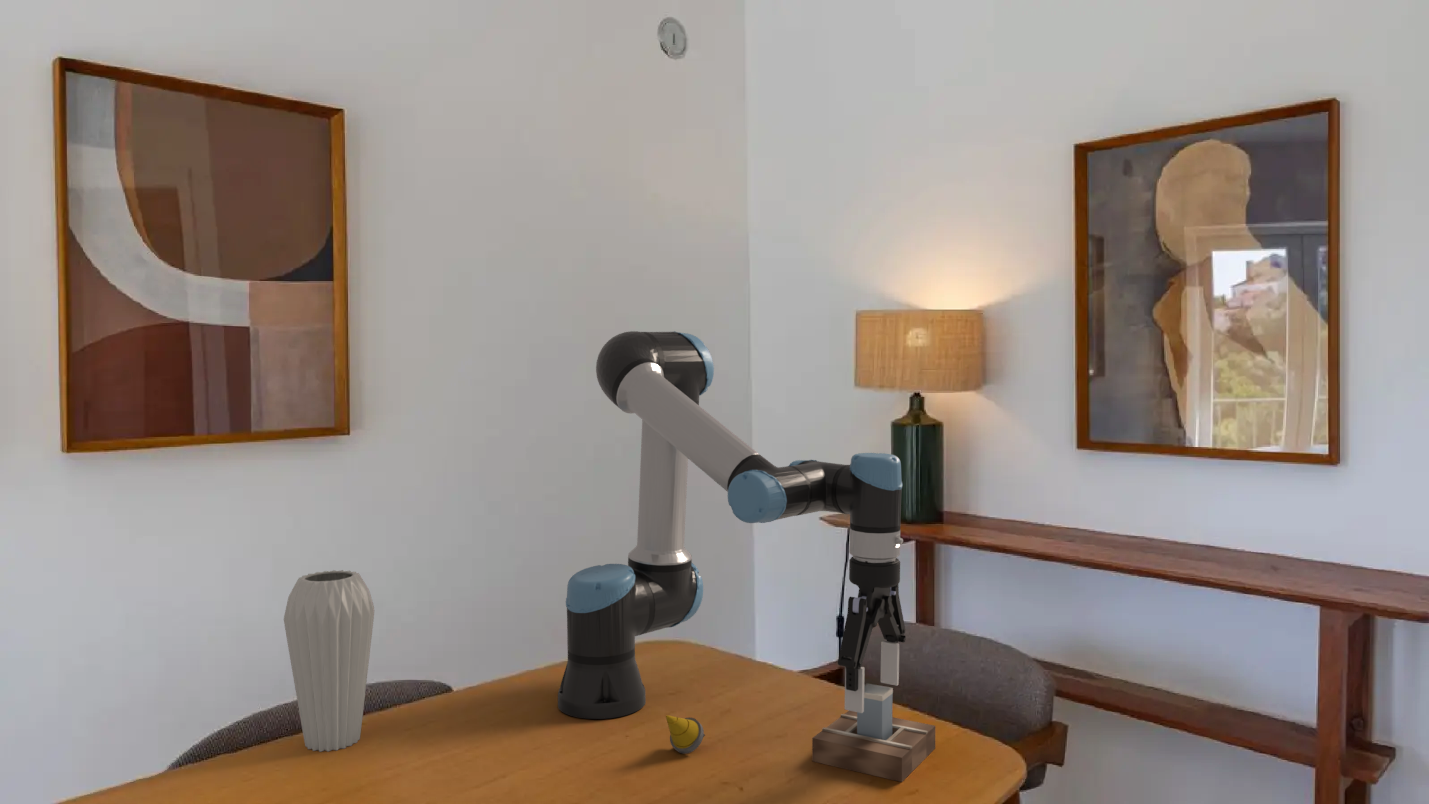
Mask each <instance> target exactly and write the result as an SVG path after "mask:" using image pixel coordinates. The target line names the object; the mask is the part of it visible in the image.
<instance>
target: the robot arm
mask: <svg viewBox="0 0 1429 804" xmlns="http://www.w3.org/2000/svg"><path fill="white" fill-rule="evenodd" d="M714 366H715V365H714V360H713V356H712V354H711V352H710V350H709V348H708V347H707V346H706V345H705V343H704V341H702V339H700V338H699V337H698V336H695V335H694V334H691V333H688V332H687V333H686V332H685V333H684V332H678V331H675V330H674V331H635V330H633V331H632V330H631V331H624V332H620V333H618V334H617V335H615V336H613V337H611V338H610V339H609V340H608V341H607V342H605V344H603V346H602V347H601V349H600V351H599V353H598V356H597V359H596V365H595V372H596V378H597V379H596V380H597V382H598V385H599V387H600V389H601V390H602V392H603V394H604V395H605V396H606V397H607V398H608V399H609V400H610V401H611V403H613V404H614V405H615V406H616V407H617V408H619V409H620V410H621V411H622V412H624V413H626V414H636V416H638V417H639V418H640V420H641V438H640V439H641V441H640V442H641V443H640V444H641V445H640V467H639V488H638V491H639V493H638V514H637V515H638V516H637V536H636V537H637V538H636V540H637V541H636V545H635V547H634V548H633V549H632V550H630V552H628V557H627V565H626V564H622V563H606V564H603V565H600V564H597V565H593V566H589V567H586V568H583V569H581V570H579V571H577V572H575V573H574V574H572V576H571V577H570V578H569V580H568V582H567V585H566V598H565V606H566V622H567V623H566V628H567V629H566V631H567V634H566V635H567V637H566V639H567V641H566V642H567V644H566V645H567V662H566V666H565V670H564V671H563V675H562V679H561V684H560V686H559V689H558V692H557V707H558V710H560V711H561V712H562V713H563V714H564V715H568V716H570V717H573V718H580V719H585V720H586V719H587V720H597V719H598V720H603V719H604V720H605V719H613V718H619V717H620V718H621V717H625V716H628V715H631V714H633V713H636V712H639V710H641V709H642V708H644V706H645V705H646V687H645V684H644V683H643V681H642V676H641V673H640V671H639V666H638V663H637V660H636V640H635V639H636V637H637V636H642V635H645V634H648V633H649V634H650V633H652V632H655V631H659V630H663V629H667V628H674V627H676V626H678V625H680V624H681V623H684V622H686V621H688V620H690V619H691V618H692V617H694V616H695V615H696V614H697V612H698V610H699V608H700V606H701V604H702V601H703V597H704V582H703V578H702V577H703V576H701V575H699V573H700V570H699V569H698V567H697V566H696V565H695V564H694V563H693V562H692V561H693V559H692V554H691V553H690V552H689V550H687V549H686V547H685V537H686V535H685V533H686V532H685V531H686V513H687V512H686V511H687V510H686V509H687V489H688V486H687V485H688V467H689V466H688V464H689V461H691V462H692V463H693V464H694V465H695V466H697V468H699V469H700V470H701V472H704V474H706V475H707V476H708V477H709V478H711V479H712V480H713V482H715V483H716V484H718V486H720V487H721V488H722V489H723V490H724V491H726V492H727V502H728V506H730V508H731V510H732V513H733V515H734V516H735V518H737V519H738V520H739V521H741V522H743V523H746V524H757V523H758V524H759V523H760V524H765V523H772V522H774V521H778V520H782V519H786V518H791V517H795V516H796V517H798V516H802V515H807V514H812V513H817V512H829V513H830V512H831V513H838V514H843V515H844V514H845V515H849V541H848V543H849V545H848V552H849V554H850V555H851V557H850V558H849V564H848V565H849V568H848V569H849V570H848V579H849V581H850V583H851V584H853V585H856V586H857V588H858V593H857V597H855V596H848V601H847V614H846V619H845V623H844V629H843V634H842V639H841V644H840V648H839V654H838V659H837V665H838V666H840V667H844V710H847V711H854V712H859V713H863V712H864V686H865V671H866V670H865V667H864V666H862V665H863V663H864V660H865V659H864V658H865V655H866V652H867V649H868V645H869V641H870V638H871V634H872V632H873V630H874V629H875V628H876V627H877V626H878V627H879V629H880V632H881V634H882V636H883V639H884V640H881V642H880V643H881V644H880V650H881V651H880V683H881V684H885V685H893V686H896V687H897V686H898V685H900V684H899V683H900V682H899V681H900V680H899V679H900V678H899V677H900V674H899V673H900V643H906V639H907V636H906V635H905V634H906V626H905V621H904V615H903V610H902V605H901V599H900V594H899V592H900V591H899V587H900V586H899V585H900V582H901V561H900V560H899V558H898V557H899V556H901V545H902V544H903V543H904V539H903V537H901V513H902V512H901V511H902V510H901V509H902V506H901V505H902V489H903V485H904V484H903V481H902V463H901V460H900V458H899V457H898V456H897V455H895V454H892V453H885V452H884V453H883V452H880V453H878V452H861V453H855V454H853V455H852V457H851V458H850V464H841V463H833V462H826V461H818V460H816V459H809V460H805V459H803V460H802V459H801V460H800V459H799V460H798V459H797V460H793V461H792V462H791V463H790V464H789V465H787V466H780V467H778V466H776V465H774V464H773V462H772V463H771V462H770V461H769V460H767V459H766V458H765V457H763V455H761V454H759V453H758V451H756V450H755V449H753V448H752V447H751V446H750V445H749V444H747V443H746V442H744V440H742V439H741V438H740V437H739V436H737V435H736V434H735V433H733V432H732V431H731V430H730V429H729V428H728V427H726V426H725V425H724V424H723V423H721V422H720V421H719V420H717V419H716V418H715V416H713V415H712V414H710V413H709V412H707V411H706V410H705V409H704V408H703V407H701V406H700V396H702V395H703V394H704V393H706V392H707V391H708V388H710V387H711V385H712V383H713V379H714V371H715V367H714Z"/></svg>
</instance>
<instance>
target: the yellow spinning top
mask: <svg viewBox="0 0 1429 804" xmlns="http://www.w3.org/2000/svg"><path fill="white" fill-rule="evenodd" d="M665 718H666V721H667V726H668V729H669V730H668V731H669V734H670V736H669V742H670V745H671V746H672V748H673V749H674V750H675V751H677V752H678V753H680V754H684V755H685V754H690V753H692V752H695V750H697V749H698V748H699V746H700V745H701V743H702V741H703V739H704V737H705V736H706V734H705V733H704V727H703V725H702V724H701V722H700V721H698V720H697V719H696V718H693V717H685V718H684V717H683V718H682V717H678V716H673V715H665Z"/></svg>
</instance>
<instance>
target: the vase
mask: <svg viewBox="0 0 1429 804" xmlns="http://www.w3.org/2000/svg"><path fill="white" fill-rule="evenodd" d="M374 619H375V605H374V602H373V599H372V596H371V592H370V589H369V587H368V586H367V584H366V583H365V580H364V579H363V577H362V576H361V575H360V573H359V572H357V571H351V570H343V569H342V570H334V569H333V570H330V571H329V570H328V571H327V570H324V571H321V572H320V571H316V572H314V573H308V574H305V575H302V576H301V577H298V579H297V580H296V582H295V584H294V586H293V588H292V589H291V591H290V594H289V595H288V598H287V603H286V606H285V610H284V615H283V624H284V629H285V630H284V631H285V634H286V642H287V648H288V653H289V659H290V665H291V669H292V670H291V672H292V677H293V684H294V689H295V696H296V700H297V706H298V713H299V717H300V718H299V720H300V725H301V730H302V734H303V735H302V736H303V741H304V746H305V748H307V750H312V752H315V751H318V752H324V751H326V752H331V751H332V750H333V751H339V749H346V748H347V747H353V744H358V741H360V740H361V733H362V725H363V724H362V723H363V717H364V706H365V698H366V691H367V690H366V689H367V681H368V673H369V664H370V663H369V662H370V653H371V646H372V637H373V636H372V635H373V628H374Z"/></svg>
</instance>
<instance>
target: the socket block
mask: <svg viewBox="0 0 1429 804" xmlns="http://www.w3.org/2000/svg"><path fill="white" fill-rule="evenodd" d="M811 741H812V742H811V743H812V746H811V748H812V749H811V750H812V751H811V752H812V756H811V757H812V758H811V759H812V762H814V763H818V764H819V763H820V764H823V765H826V766H832V767H836V768H839V769H840V768H841V769H844V770H848V771H853V772H858V773H862V774H865V775H870V776H874V777H878V778H882V779H883V778H884V779H886V780H891V781H895V782H899V783H900V782H901V783H902V782H904V781H905V780H906V779H907V777H908V776H909V775H911V774H912V772H914V770H916V768H918V767H919V765H920V764H921V763H922V762H924V760H925V759H927V757H929V755H931V754H932V752H933V751H935V749H936V725H933V724H928V723H924V722H918V721H913V720H907V719H904V718H898V717H893V716H892V736H890V737H889V738H888V739H887V740H881V739H877V738H872V737H867V736H863V735H858V734H857V712H854V711H849V710H847V711H846V712H845V713H841V714H840V716H839V717H838V718H837V719H836V720H835V721H833V722H832V723H831V724H829V725H828V726H826V727H824V726H823V727H822V728H821V731H820V732H819V733H817V734H815V735H814V736H813V737H812V739H811Z"/></svg>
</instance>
